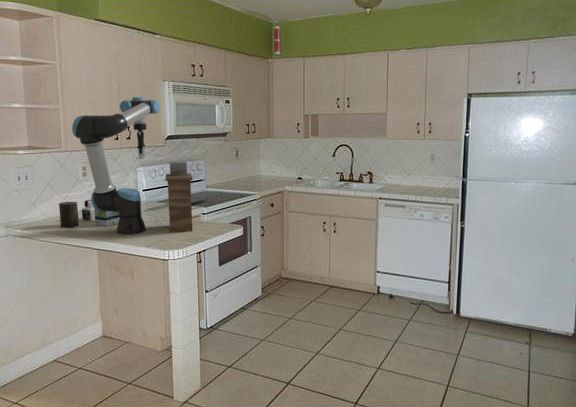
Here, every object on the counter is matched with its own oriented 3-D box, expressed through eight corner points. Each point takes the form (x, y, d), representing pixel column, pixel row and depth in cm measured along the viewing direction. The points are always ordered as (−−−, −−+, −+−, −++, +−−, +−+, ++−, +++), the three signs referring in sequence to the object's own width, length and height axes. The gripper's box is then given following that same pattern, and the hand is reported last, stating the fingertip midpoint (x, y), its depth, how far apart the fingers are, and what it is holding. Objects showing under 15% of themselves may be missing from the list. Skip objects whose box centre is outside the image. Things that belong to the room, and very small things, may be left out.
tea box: (107, 226, 285) (105, 201, 282) (94, 224, 290) (92, 200, 287) (126, 221, 298) (125, 197, 295) (114, 219, 303) (113, 196, 300)
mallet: (187, 175, 276) (186, 162, 274) (170, 175, 274) (169, 163, 272) (185, 170, 300) (185, 158, 298) (170, 170, 298) (169, 159, 296)
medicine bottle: (82, 220, 302) (80, 200, 300) (91, 217, 308) (90, 199, 306) (90, 221, 299) (88, 201, 297) (99, 219, 305) (98, 199, 303)
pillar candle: (67, 228, 280) (65, 202, 278) (57, 226, 286) (55, 201, 283) (82, 225, 288) (80, 200, 286) (72, 223, 294) (70, 198, 291)
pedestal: (194, 231, 273) (192, 177, 267) (168, 233, 270) (165, 178, 264) (192, 223, 291) (190, 173, 285) (168, 225, 288) (165, 174, 282)
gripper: (145, 123, 291) (147, 159, 295) (147, 122, 314) (149, 156, 318) (131, 123, 289) (134, 160, 293) (134, 122, 313) (136, 156, 317)
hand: (141, 158), depth 306 cm, fingers open, 13 cm apart
